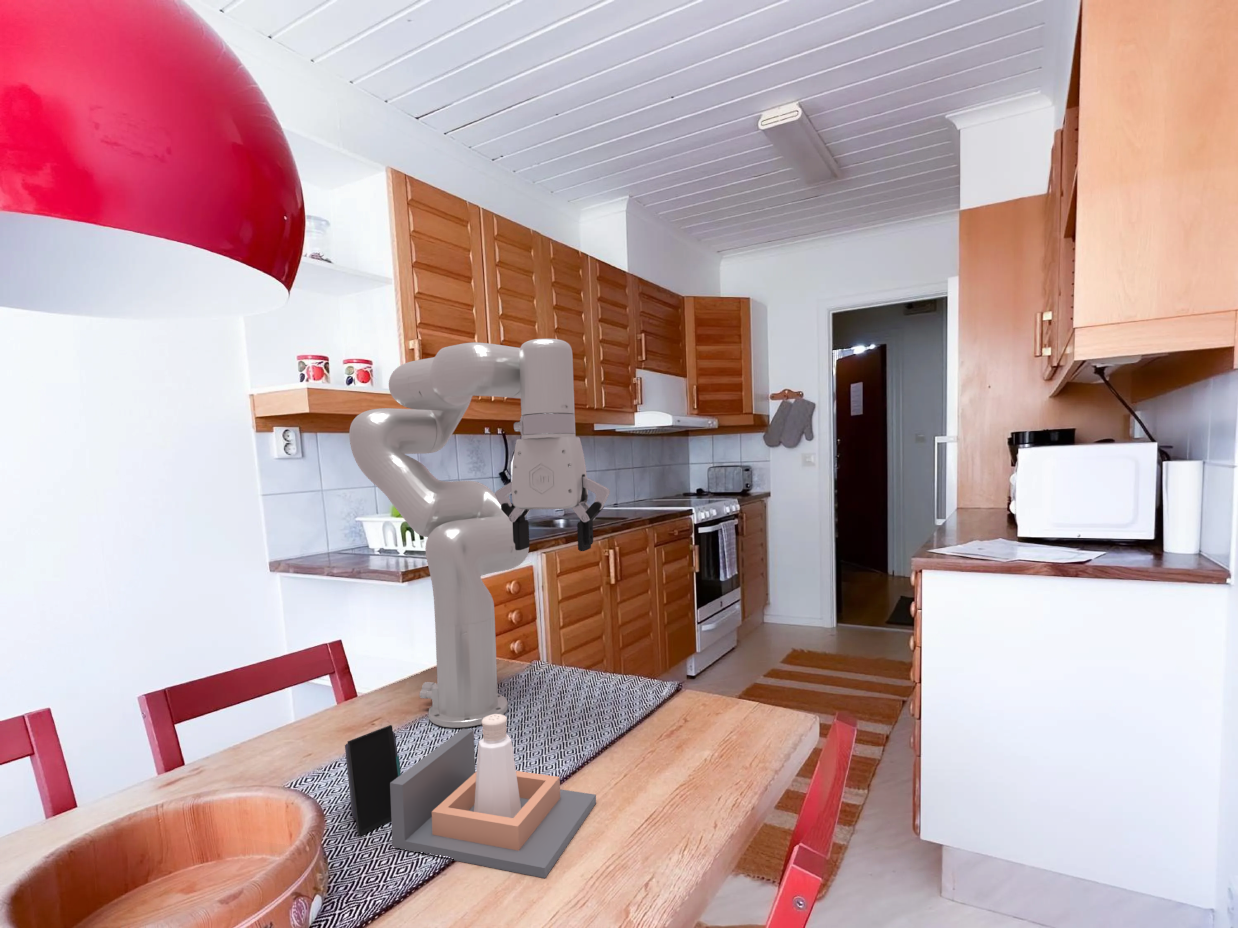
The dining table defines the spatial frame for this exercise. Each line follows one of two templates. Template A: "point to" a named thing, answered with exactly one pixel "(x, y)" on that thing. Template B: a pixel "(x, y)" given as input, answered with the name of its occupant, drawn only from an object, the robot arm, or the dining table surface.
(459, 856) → the gray walled base stand
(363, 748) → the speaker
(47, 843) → the dining table surface
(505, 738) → the salt shaker
